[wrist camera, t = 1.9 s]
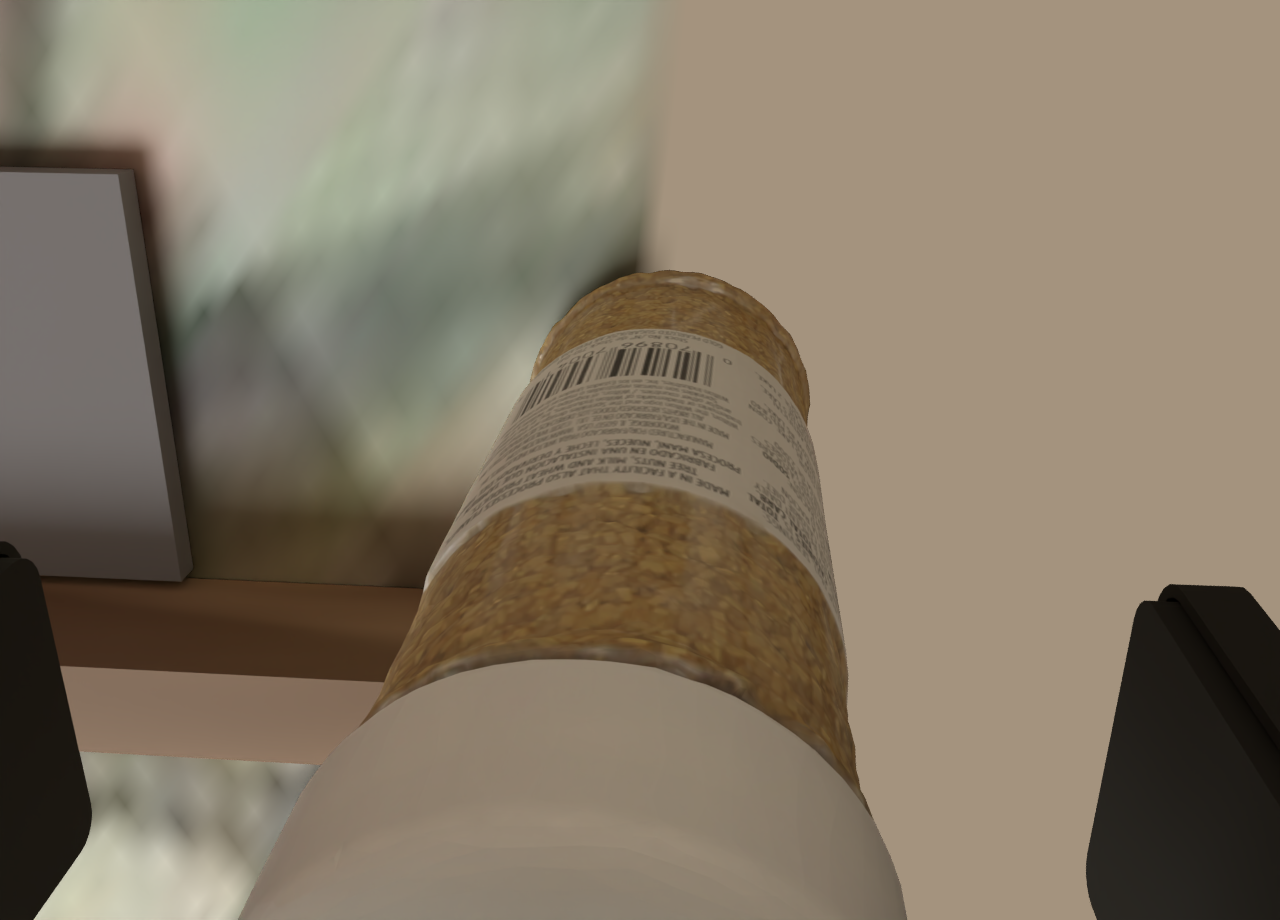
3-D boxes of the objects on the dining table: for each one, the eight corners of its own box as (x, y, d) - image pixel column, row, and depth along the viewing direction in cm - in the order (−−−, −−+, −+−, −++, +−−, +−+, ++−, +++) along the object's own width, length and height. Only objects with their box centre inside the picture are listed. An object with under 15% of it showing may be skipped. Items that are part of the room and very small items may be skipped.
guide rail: (779, 683, 21) (785, 790, 19) (-130, 638, 23) (-252, 732, 20) (784, 605, 21) (790, 703, 18) (-150, 562, 22) (-279, 649, 19)
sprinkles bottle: (528, 511, 20) (198, 1348, 8) (539, 247, 19) (138, 796, 6) (797, 538, 20) (880, 1439, 8) (833, 273, 19) (1015, 898, 6)
